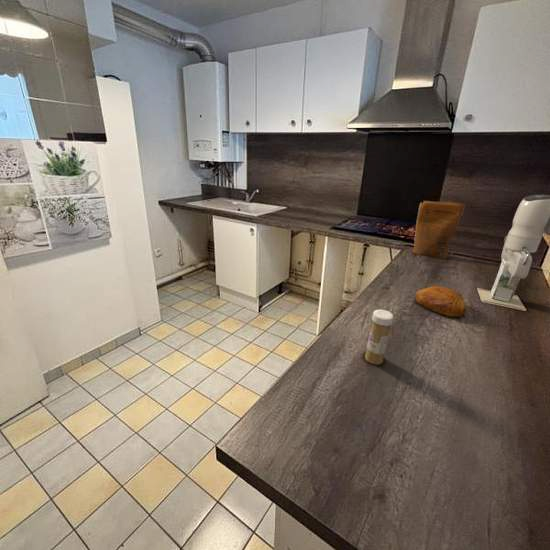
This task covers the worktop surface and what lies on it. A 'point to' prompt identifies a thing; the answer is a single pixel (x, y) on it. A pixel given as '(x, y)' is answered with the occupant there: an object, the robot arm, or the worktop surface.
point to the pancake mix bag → (436, 227)
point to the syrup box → (503, 284)
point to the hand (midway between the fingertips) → (507, 280)
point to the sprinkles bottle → (378, 336)
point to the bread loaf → (442, 300)
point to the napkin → (514, 303)
